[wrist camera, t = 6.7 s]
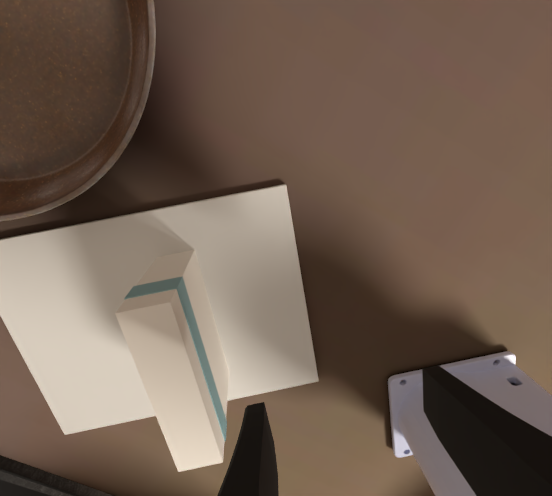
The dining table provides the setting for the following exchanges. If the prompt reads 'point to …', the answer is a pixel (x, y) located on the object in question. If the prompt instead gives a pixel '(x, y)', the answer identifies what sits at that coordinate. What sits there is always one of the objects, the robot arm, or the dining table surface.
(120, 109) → the plant saucer
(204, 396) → the card deck
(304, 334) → the mat
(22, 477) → the phone
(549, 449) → the robot arm
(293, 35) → the dining table surface
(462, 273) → the dining table surface
